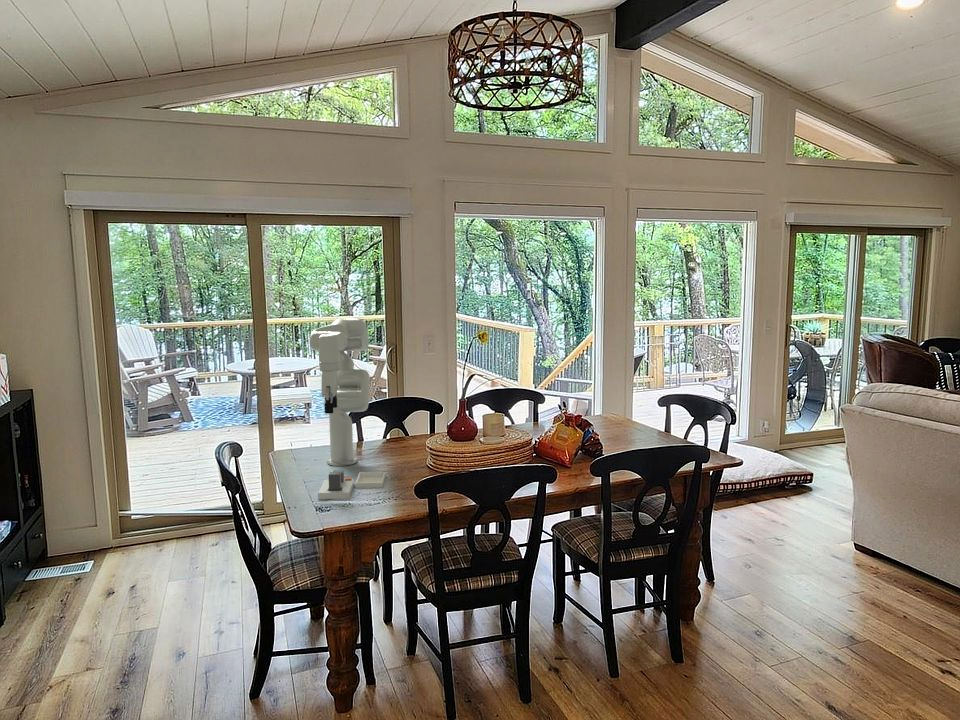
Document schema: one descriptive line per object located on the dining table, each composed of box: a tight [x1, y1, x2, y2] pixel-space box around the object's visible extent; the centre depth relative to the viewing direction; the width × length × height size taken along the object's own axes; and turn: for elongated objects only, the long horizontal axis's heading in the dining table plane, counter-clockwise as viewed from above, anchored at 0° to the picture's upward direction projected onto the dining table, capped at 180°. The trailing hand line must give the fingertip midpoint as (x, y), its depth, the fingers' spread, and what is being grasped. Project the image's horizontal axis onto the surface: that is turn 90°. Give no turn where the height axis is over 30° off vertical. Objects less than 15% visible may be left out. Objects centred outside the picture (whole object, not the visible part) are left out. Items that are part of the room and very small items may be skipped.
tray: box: [354, 471, 386, 489], centre depth 257 cm, size 13×10×2 cm
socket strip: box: [317, 469, 355, 501], centre depth 246 cm, size 15×11×7 cm
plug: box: [328, 471, 341, 491], centre depth 242 cm, size 3×4×9 cm
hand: (331, 410), depth 256 cm, fingers open, 9 cm apart
